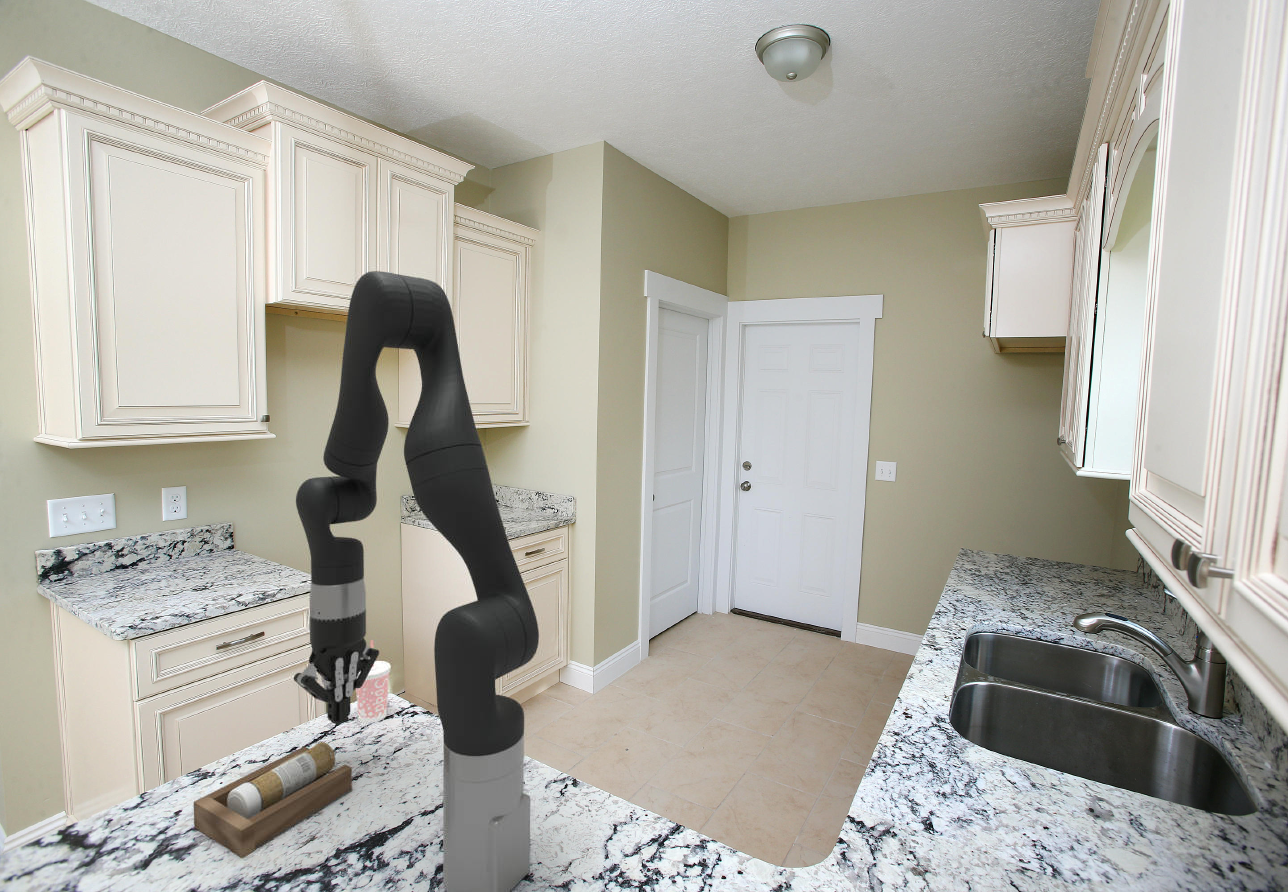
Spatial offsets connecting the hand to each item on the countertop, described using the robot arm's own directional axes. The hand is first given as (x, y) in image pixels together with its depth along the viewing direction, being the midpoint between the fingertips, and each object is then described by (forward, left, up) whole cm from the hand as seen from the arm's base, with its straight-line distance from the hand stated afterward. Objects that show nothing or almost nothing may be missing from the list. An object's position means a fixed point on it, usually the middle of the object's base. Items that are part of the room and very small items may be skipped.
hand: (339, 721), depth 91 cm
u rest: (0, +8, -8) cm, 12 cm away
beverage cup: (+10, -14, -8) cm, 19 cm away
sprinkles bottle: (+2, +1, -6) cm, 6 cm away
